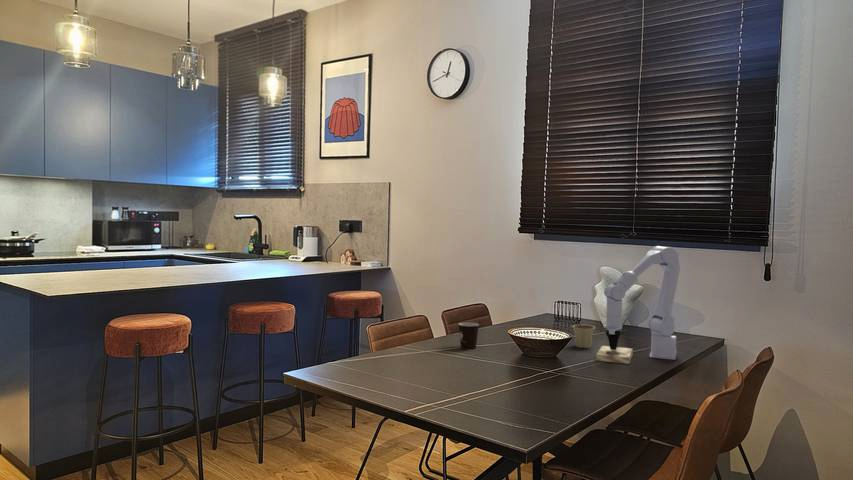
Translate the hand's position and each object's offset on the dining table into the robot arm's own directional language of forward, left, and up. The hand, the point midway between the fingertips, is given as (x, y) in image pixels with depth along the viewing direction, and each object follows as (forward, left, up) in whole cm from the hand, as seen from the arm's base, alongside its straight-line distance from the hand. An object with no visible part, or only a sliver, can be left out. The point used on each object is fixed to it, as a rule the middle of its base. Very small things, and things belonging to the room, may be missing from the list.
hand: (613, 349), depth 231 cm
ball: (0, +2, -2) cm, 3 cm away
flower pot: (+14, -16, -4) cm, 22 cm away
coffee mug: (+58, +7, -4) cm, 59 cm away
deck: (0, -2, -3) cm, 4 cm away
